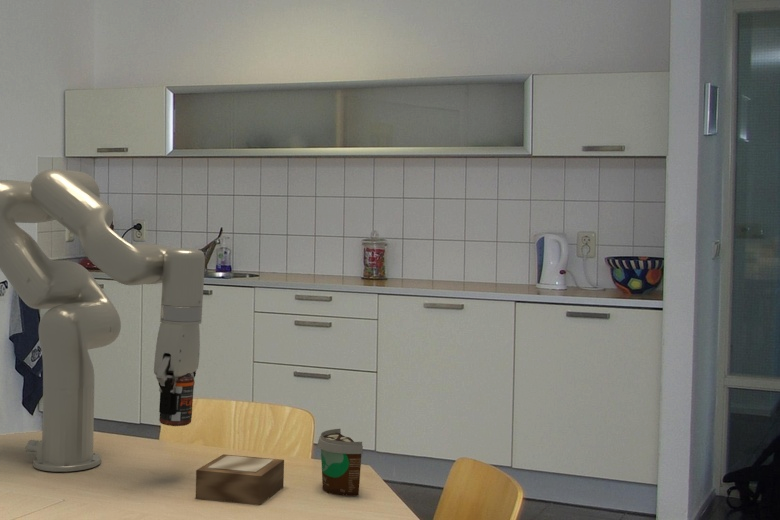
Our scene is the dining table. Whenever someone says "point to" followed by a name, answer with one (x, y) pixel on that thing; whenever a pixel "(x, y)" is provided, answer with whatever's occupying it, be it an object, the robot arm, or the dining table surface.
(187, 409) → the supplement bottle
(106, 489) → the dining table surface
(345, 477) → the food container
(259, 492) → the walnut base
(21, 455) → the dining table surface
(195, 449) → the dining table surface
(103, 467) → the dining table surface
